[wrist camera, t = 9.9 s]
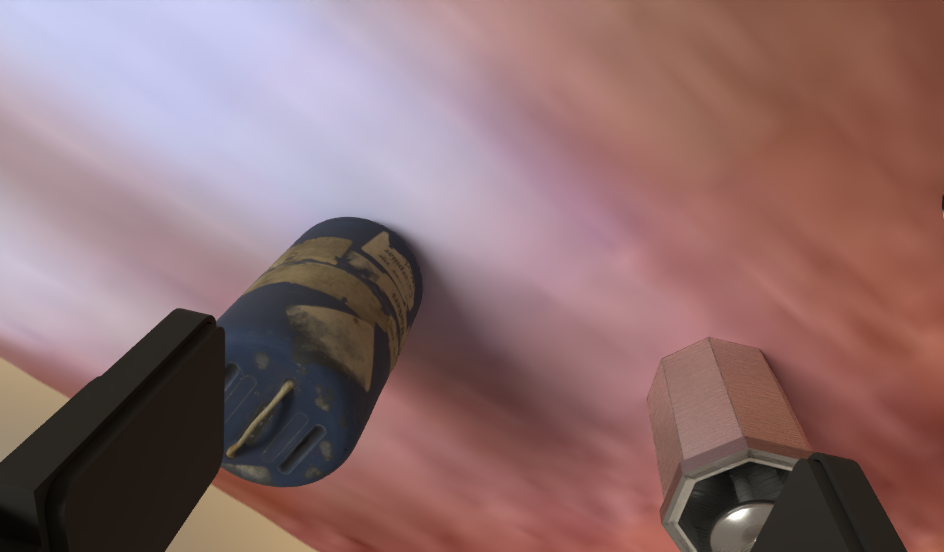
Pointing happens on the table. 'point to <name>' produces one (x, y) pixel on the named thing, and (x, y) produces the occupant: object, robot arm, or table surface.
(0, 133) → the table surface
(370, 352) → the canister
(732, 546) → the plunger
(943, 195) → the spotted tube
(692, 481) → the press carafe
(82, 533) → the robot arm
